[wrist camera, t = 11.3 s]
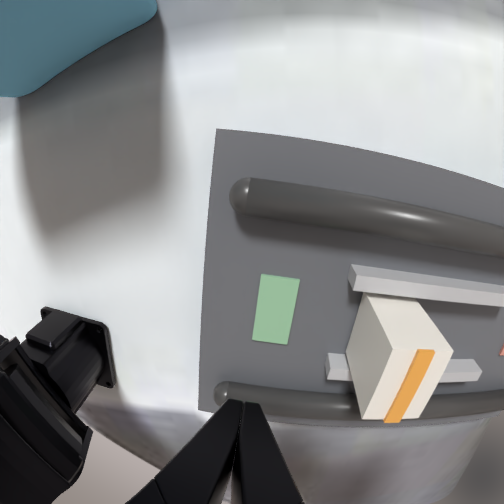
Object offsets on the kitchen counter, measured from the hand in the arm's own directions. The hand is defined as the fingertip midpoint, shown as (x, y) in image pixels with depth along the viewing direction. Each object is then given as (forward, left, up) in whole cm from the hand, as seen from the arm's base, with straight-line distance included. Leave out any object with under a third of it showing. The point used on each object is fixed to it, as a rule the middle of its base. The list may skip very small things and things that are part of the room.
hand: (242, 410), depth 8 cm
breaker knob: (-2, -7, -9) cm, 12 cm away
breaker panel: (-2, -10, -12) cm, 16 cm away
